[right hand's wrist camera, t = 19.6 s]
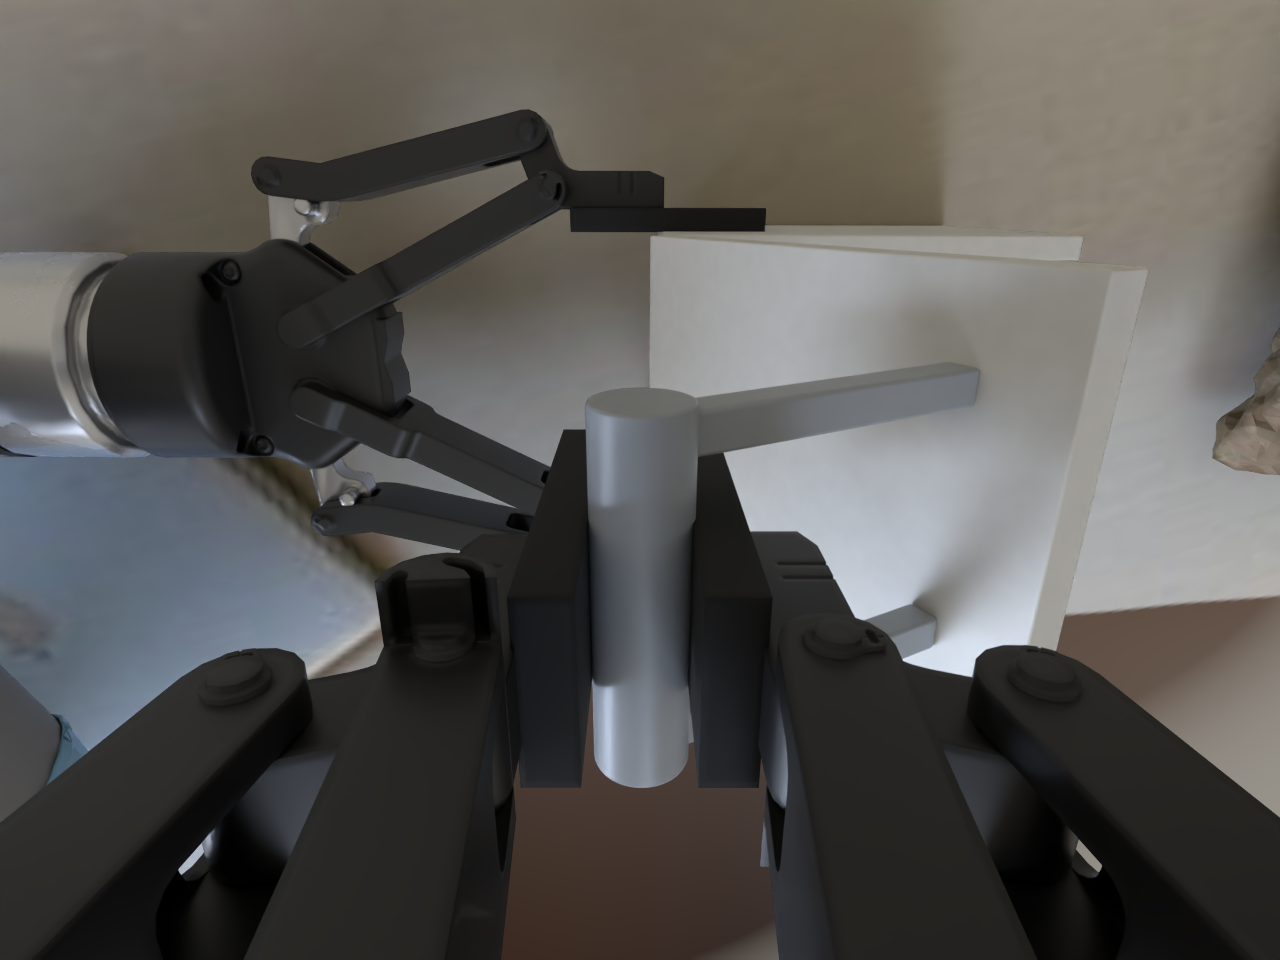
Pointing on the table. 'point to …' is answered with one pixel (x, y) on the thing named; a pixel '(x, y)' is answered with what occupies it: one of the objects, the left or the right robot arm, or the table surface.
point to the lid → (850, 452)
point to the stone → (1254, 424)
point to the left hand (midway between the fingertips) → (750, 358)
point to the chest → (920, 239)
